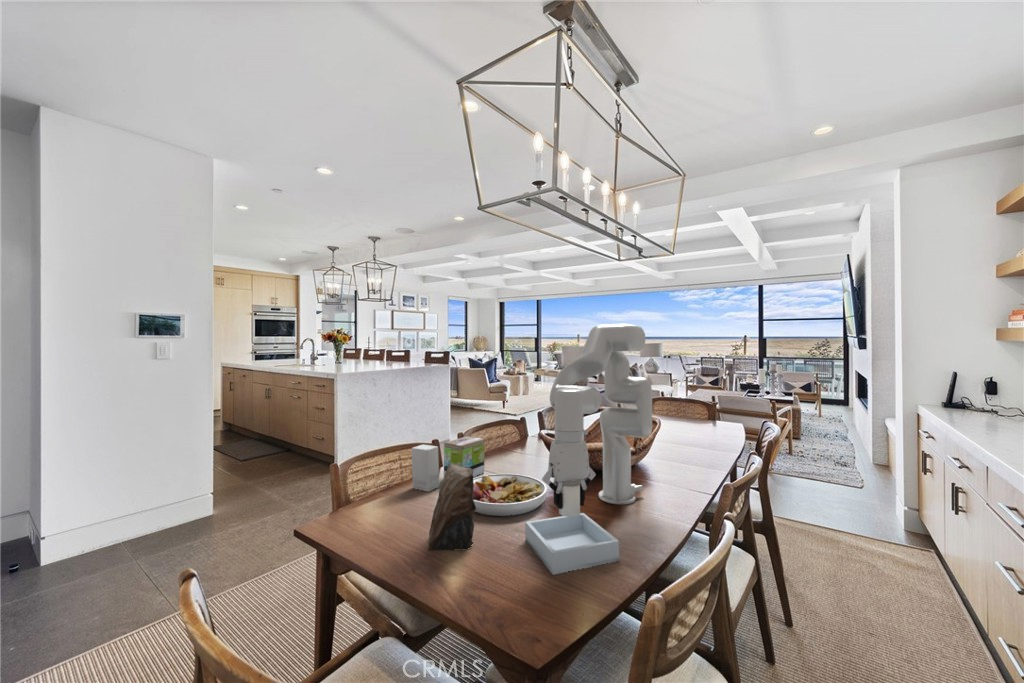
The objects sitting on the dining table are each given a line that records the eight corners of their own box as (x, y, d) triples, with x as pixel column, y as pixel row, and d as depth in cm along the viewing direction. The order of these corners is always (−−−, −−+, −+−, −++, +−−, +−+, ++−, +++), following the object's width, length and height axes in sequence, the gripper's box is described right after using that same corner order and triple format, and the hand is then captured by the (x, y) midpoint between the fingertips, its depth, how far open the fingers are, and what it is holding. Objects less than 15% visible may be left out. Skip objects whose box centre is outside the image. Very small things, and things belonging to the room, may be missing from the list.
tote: (583, 530, 118) (583, 512, 118) (619, 561, 101) (619, 541, 101) (525, 540, 113) (525, 521, 113) (552, 574, 96) (552, 553, 96)
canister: (574, 507, 111) (574, 473, 111) (584, 515, 105) (584, 480, 105) (554, 509, 109) (554, 475, 109) (564, 518, 103) (564, 482, 103)
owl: (444, 529, 120) (443, 460, 120) (485, 533, 117) (485, 463, 117) (425, 550, 107) (425, 474, 107) (471, 555, 105) (470, 477, 105)
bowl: (514, 481, 162) (514, 461, 162) (564, 506, 137) (564, 482, 137) (444, 497, 145) (444, 475, 145) (487, 529, 120) (487, 502, 120)
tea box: (462, 483, 159) (462, 445, 159) (443, 479, 164) (442, 442, 164) (485, 473, 172) (485, 437, 172) (466, 469, 177) (466, 435, 177)
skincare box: (439, 487, 155) (439, 446, 155) (427, 492, 149) (427, 450, 149) (423, 483, 159) (423, 443, 159) (411, 488, 153) (410, 447, 154)
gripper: (590, 431, 113) (591, 496, 113) (533, 435, 108) (533, 504, 108) (605, 436, 106) (605, 506, 106) (544, 441, 101) (544, 515, 101)
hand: (569, 504), depth 107 cm, fingers closed on canister, 5 cm apart
